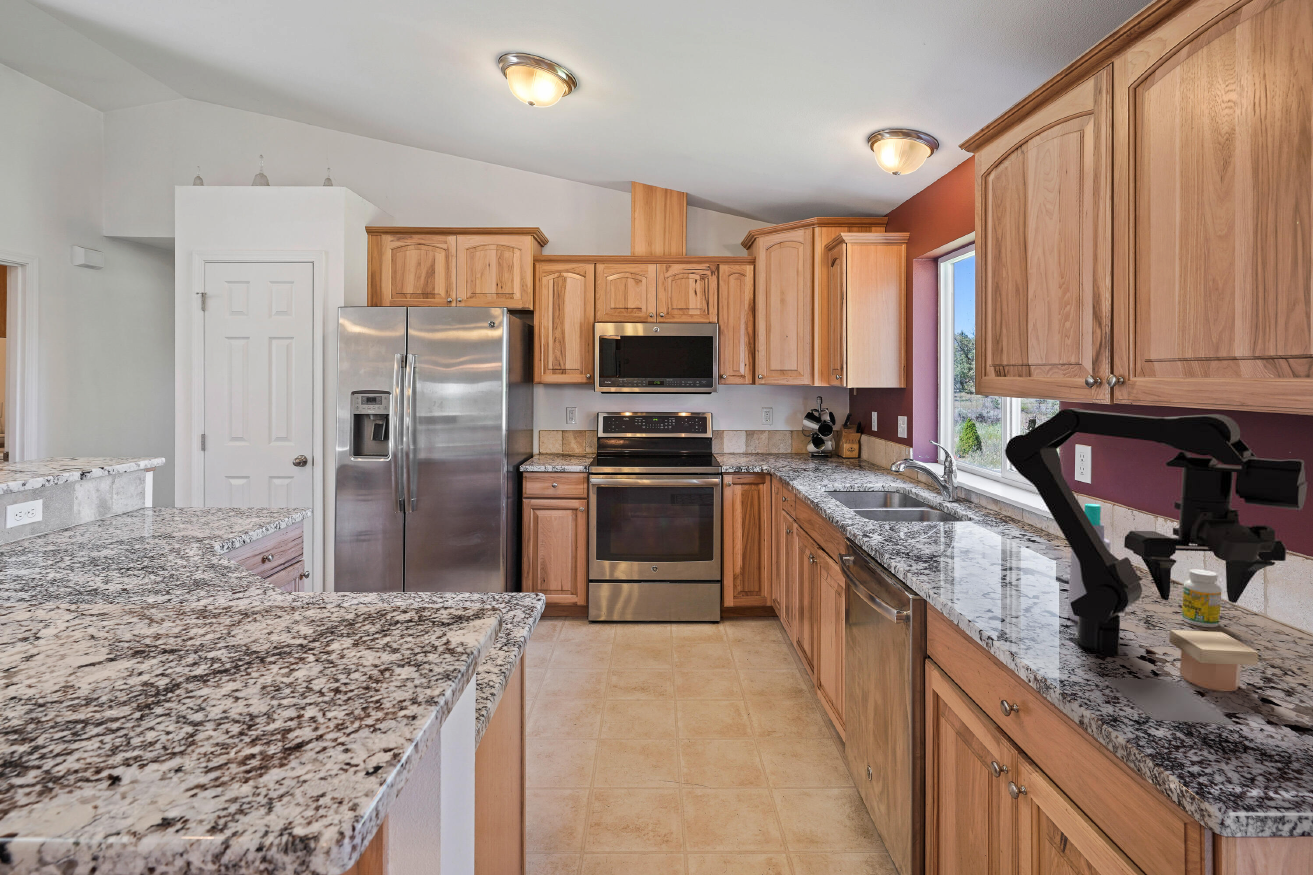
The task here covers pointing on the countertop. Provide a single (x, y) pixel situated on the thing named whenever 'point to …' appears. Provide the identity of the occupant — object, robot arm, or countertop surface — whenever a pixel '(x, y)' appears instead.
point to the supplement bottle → (1201, 599)
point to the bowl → (1210, 674)
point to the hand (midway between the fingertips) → (1198, 600)
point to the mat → (1168, 701)
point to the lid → (1213, 647)
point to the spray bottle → (1075, 574)
